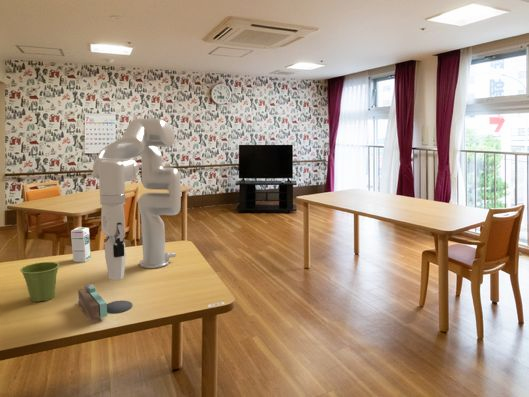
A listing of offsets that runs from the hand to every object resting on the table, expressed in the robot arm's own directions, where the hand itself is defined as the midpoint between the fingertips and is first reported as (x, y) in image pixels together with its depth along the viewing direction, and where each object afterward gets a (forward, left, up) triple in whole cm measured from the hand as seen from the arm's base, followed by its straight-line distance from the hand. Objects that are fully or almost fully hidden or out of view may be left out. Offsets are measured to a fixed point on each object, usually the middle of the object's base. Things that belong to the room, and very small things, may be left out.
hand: (115, 253), depth 133 cm
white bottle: (0, 0, -8) cm, 8 cm away
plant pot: (+18, -23, -19) cm, 35 cm away
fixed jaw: (+7, -2, -19) cm, 20 cm away
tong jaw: (+7, 0, -17) cm, 19 cm away
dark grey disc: (0, 0, -19) cm, 19 cm away
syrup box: (-4, -59, -19) cm, 62 cm away
